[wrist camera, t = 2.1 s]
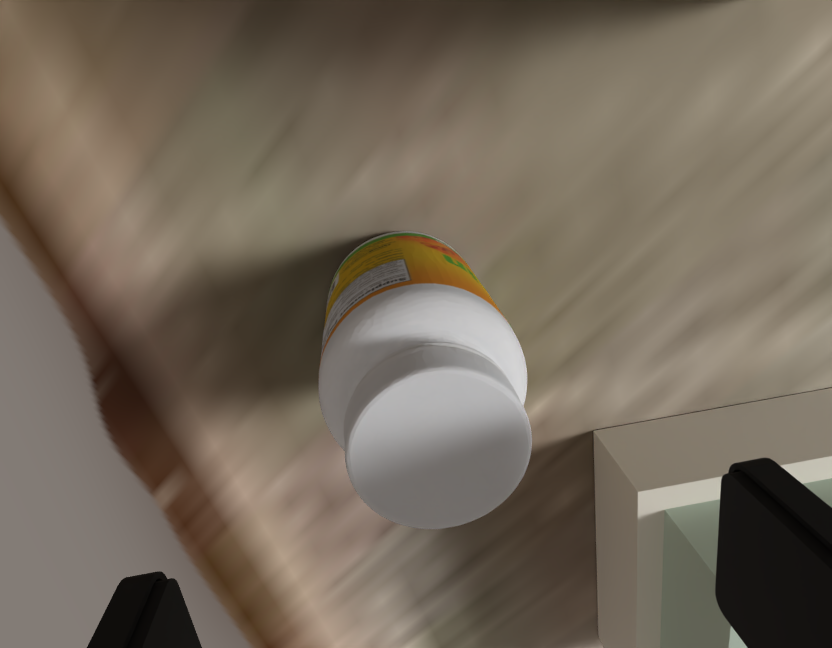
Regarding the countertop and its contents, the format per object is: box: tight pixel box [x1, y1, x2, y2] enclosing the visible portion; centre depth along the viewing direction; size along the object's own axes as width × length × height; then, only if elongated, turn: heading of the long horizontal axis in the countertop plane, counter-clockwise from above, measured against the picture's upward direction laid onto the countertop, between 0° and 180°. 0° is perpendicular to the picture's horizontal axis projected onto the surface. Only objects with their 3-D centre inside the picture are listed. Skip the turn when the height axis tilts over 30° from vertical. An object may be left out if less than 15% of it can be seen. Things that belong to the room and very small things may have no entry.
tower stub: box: [593, 388, 832, 648], centre depth 23 cm, size 12×12×8 cm
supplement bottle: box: [318, 231, 532, 529], centre depth 16 cm, size 5×5×10 cm
